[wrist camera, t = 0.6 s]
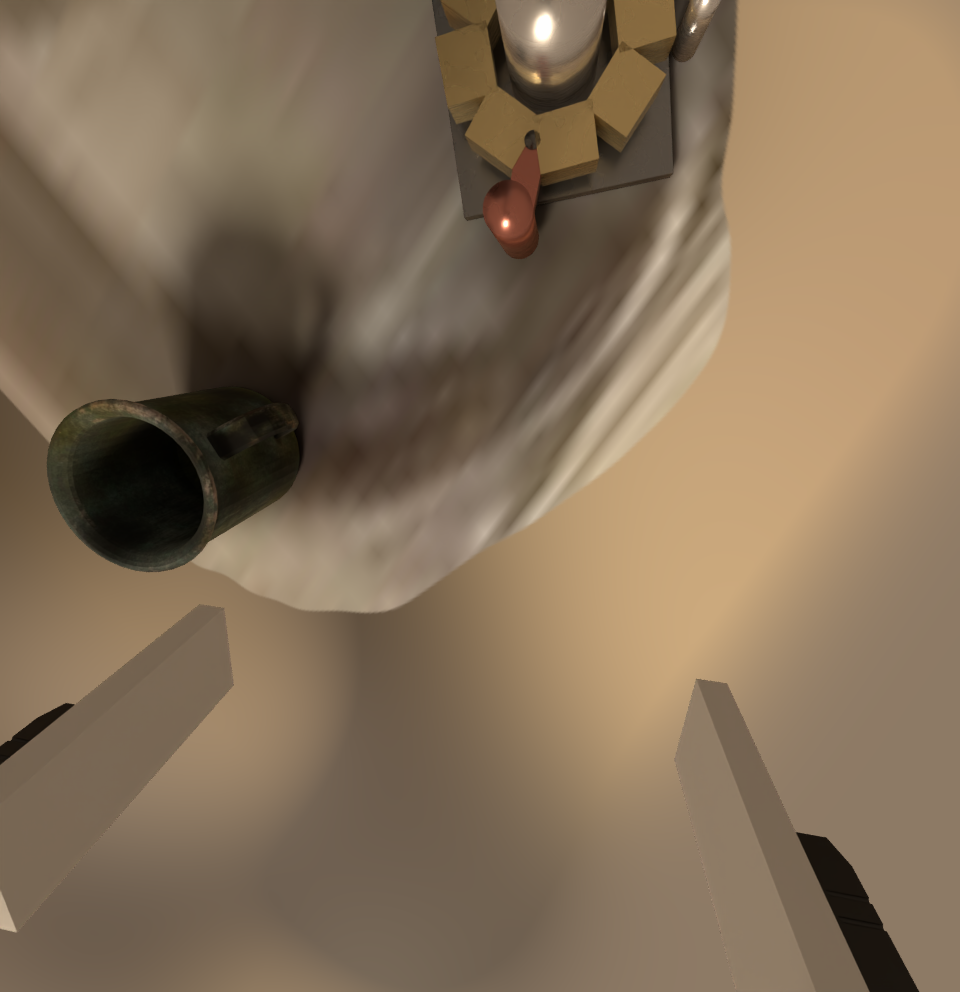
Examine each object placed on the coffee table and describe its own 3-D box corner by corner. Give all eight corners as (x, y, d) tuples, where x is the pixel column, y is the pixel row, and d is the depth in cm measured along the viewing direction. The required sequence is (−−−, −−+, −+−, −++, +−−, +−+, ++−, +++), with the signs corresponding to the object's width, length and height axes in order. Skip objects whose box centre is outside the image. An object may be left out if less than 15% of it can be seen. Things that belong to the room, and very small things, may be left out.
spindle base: (431, -20, 30) (373, -179, 21) (692, -101, 27) (763, -327, 18) (467, 220, 34) (431, 178, 24) (700, 170, 31) (762, 101, 22)
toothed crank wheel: (469, -84, 28) (433, -251, 20) (693, -53, 27) (751, -215, 19) (424, 241, 33) (382, 213, 25) (609, 276, 32) (626, 259, 24)
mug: (157, 418, 42) (9, 451, 31) (294, 334, 38) (182, 335, 27) (231, 529, 44) (118, 597, 33) (366, 460, 40) (292, 511, 29)
